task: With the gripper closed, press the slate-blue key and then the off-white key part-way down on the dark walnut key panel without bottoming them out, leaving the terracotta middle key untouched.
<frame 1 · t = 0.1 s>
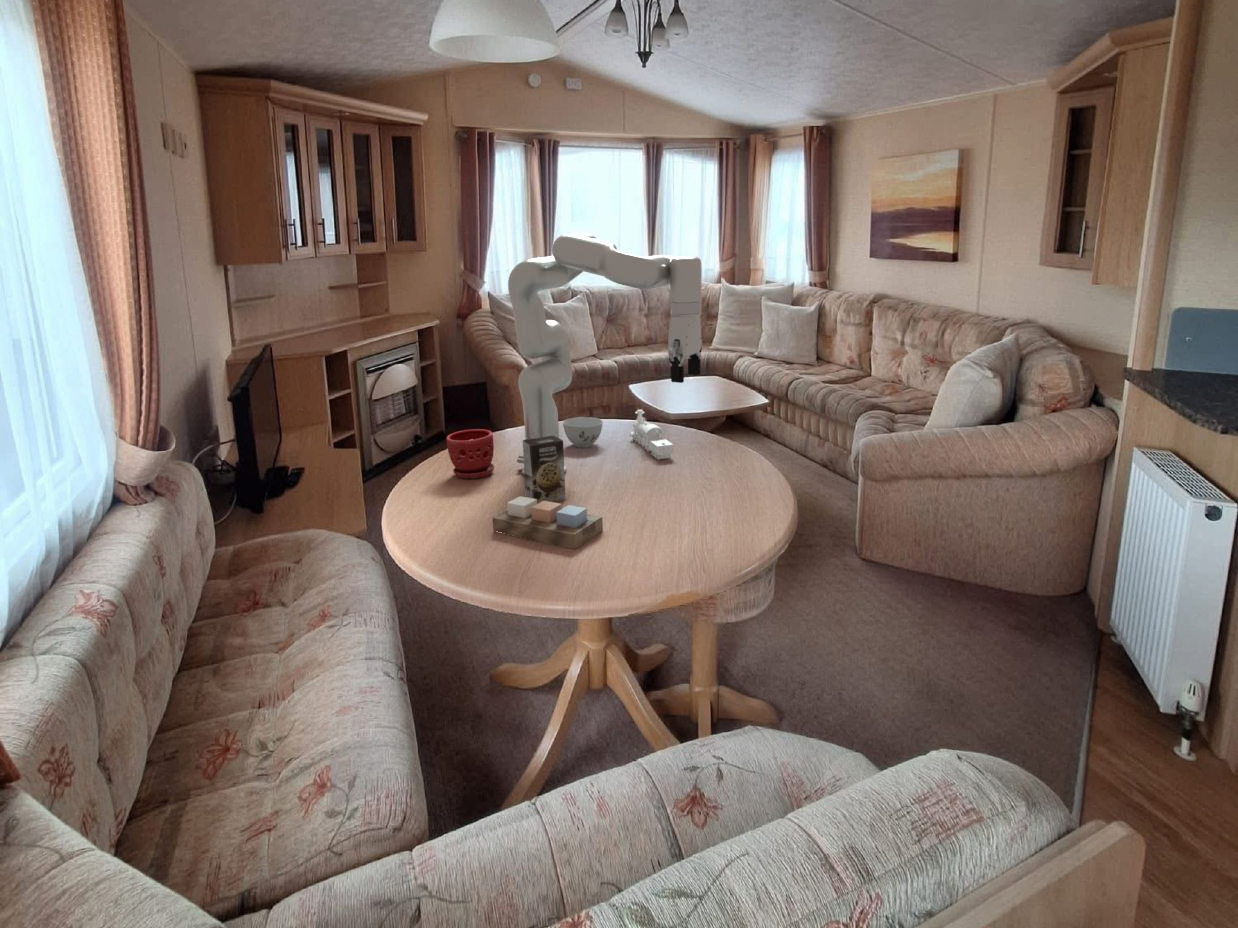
hand: (685, 378, 202), 31 cm above the table, tool pointing down, fingers open, 9 cm apart
toy train: (649, 448, 255), on the table
key panel: (547, 531, 192), on the table
coffee box: (546, 499, 213), on the table
plant pot: (473, 474, 234), on the table
teacup: (583, 444, 260), on the table
key terracotta: (546, 512, 190), point 5 cm above the table, slide at 0.0 cm
key blue: (571, 517, 187), point 5 cm above the table, slide at 0.0 cm
key white: (522, 507, 193), point 5 cm above the table, slide at 0.0 cm
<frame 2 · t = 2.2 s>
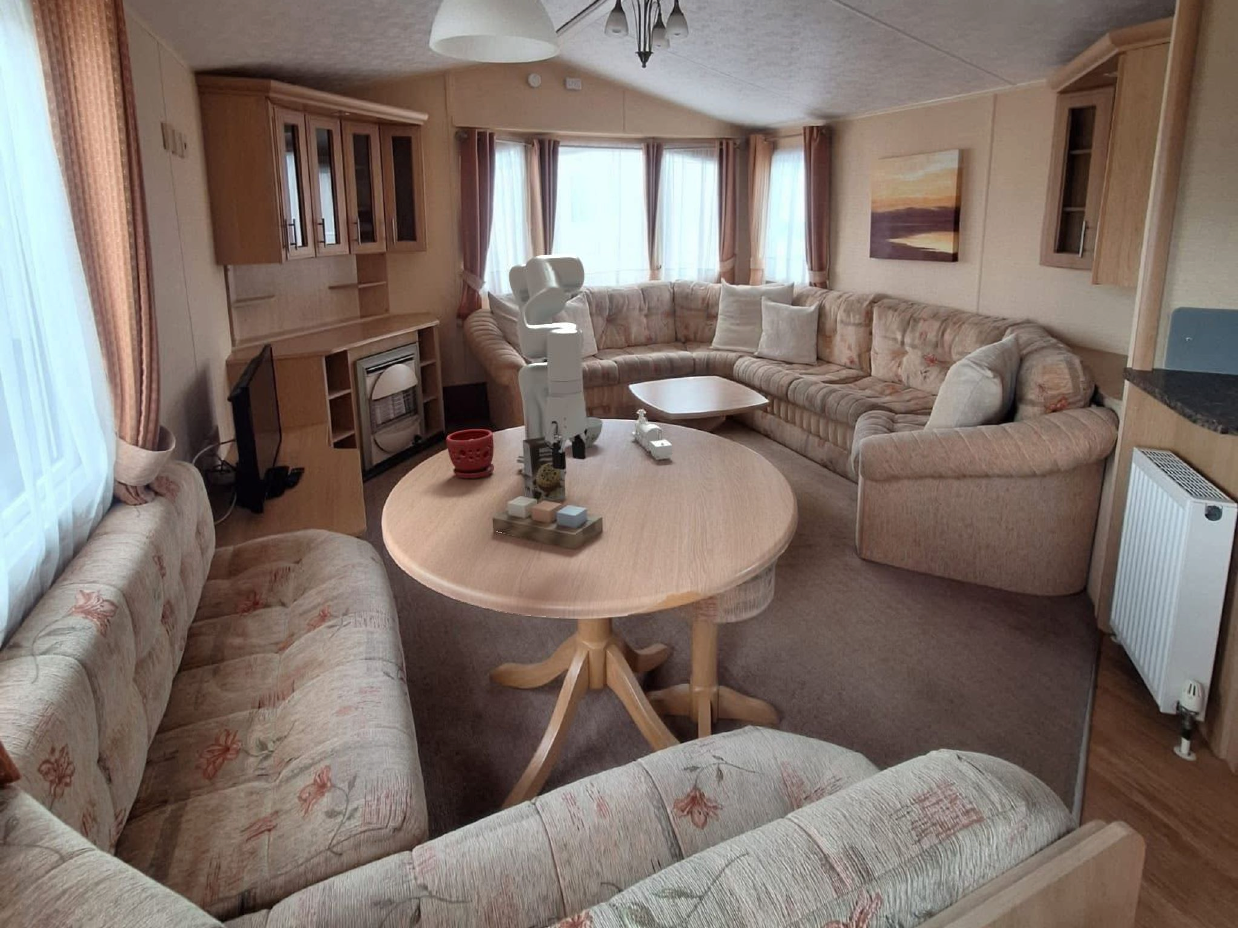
hand: (569, 463, 183), 18 cm above the table, tool pointing down, fingers open, 7 cm apart
nothing on the table moved.
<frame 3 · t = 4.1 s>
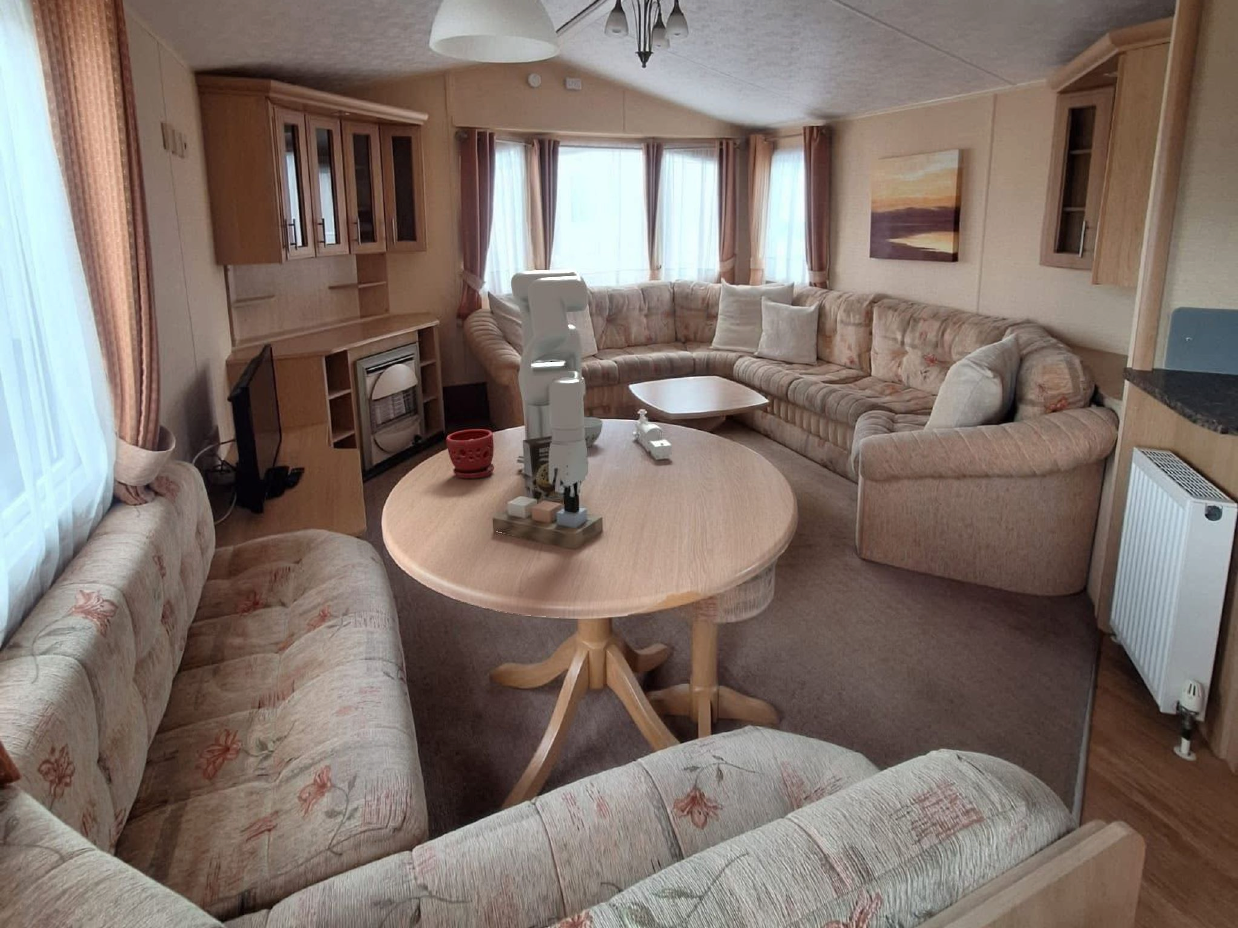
hand: (571, 510, 186), 6 cm above the table, tool pointing down, fingers closed
key blue: (571, 517, 187), point 5 cm above the table, slide at 0.1 cm, touching gripper
everything else where it was.
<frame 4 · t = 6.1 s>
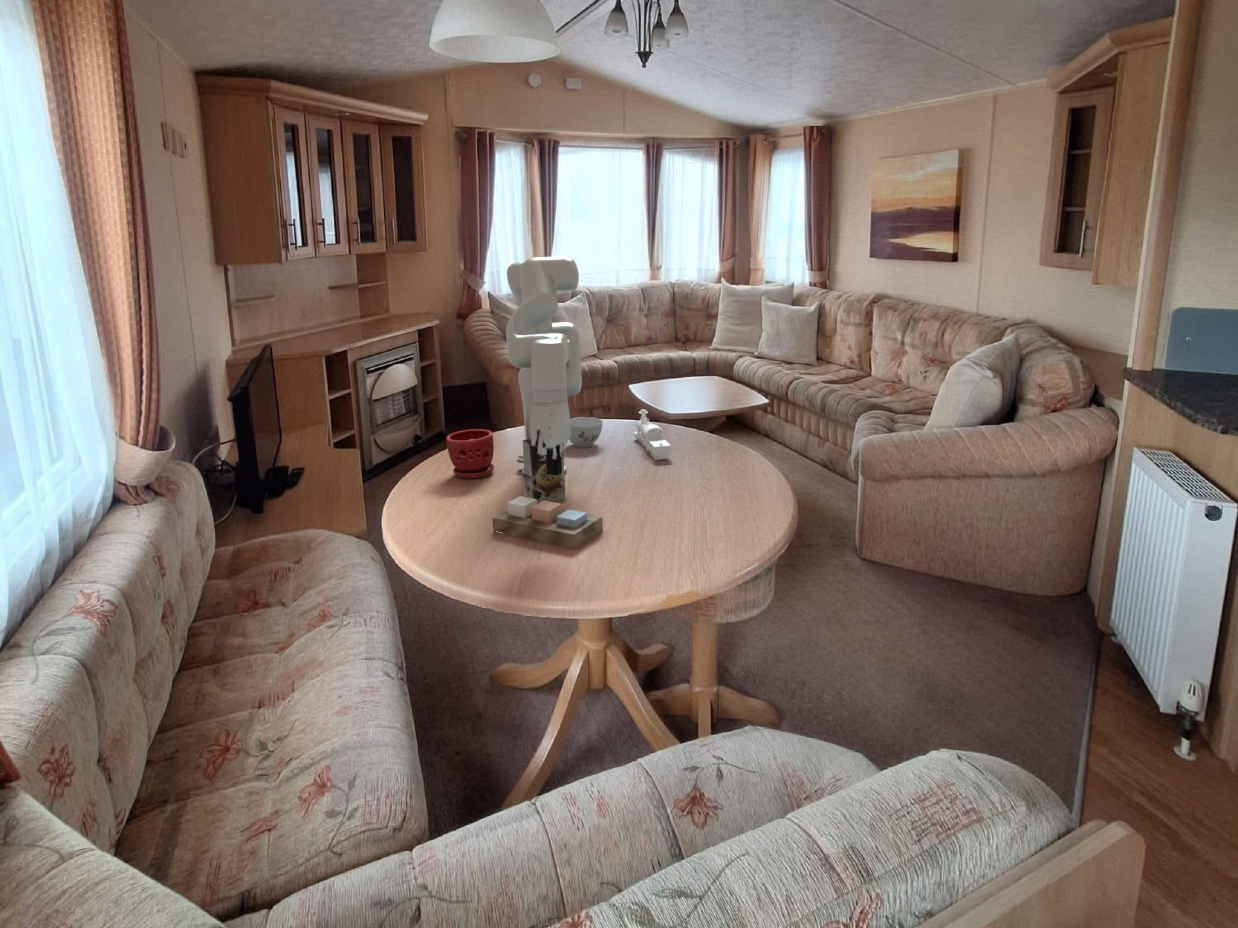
hand: (554, 473, 186), 15 cm above the table, tool pointing down, fingers closed
key blue: (572, 521, 187), point 4 cm above the table, slide at 1.1 cm
everything else where it was.
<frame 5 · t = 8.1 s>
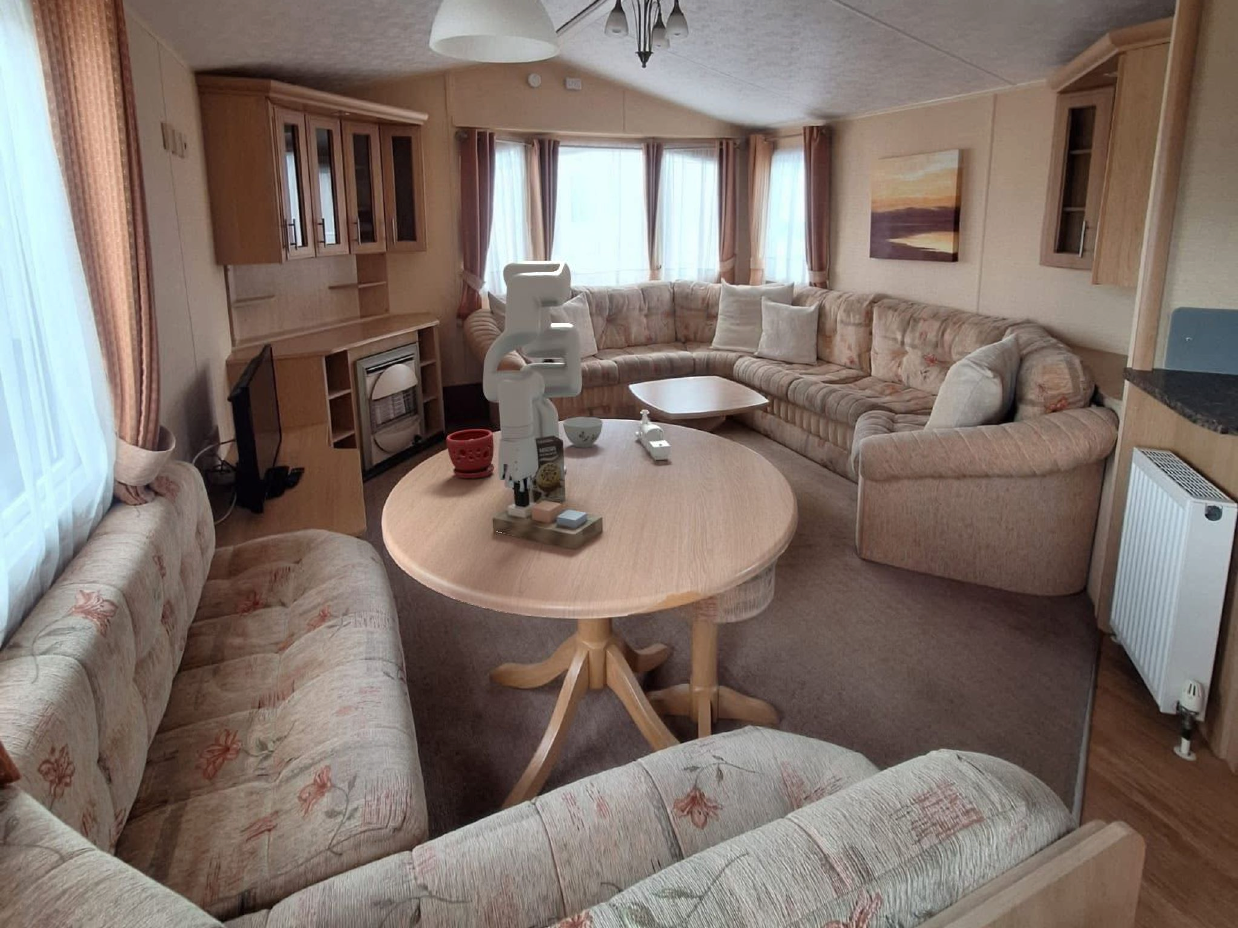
hand: (522, 505, 193), 6 cm above the table, tool pointing down, fingers closed
key white: (522, 511, 194), point 4 cm above the table, slide at 1.1 cm, touching gripper
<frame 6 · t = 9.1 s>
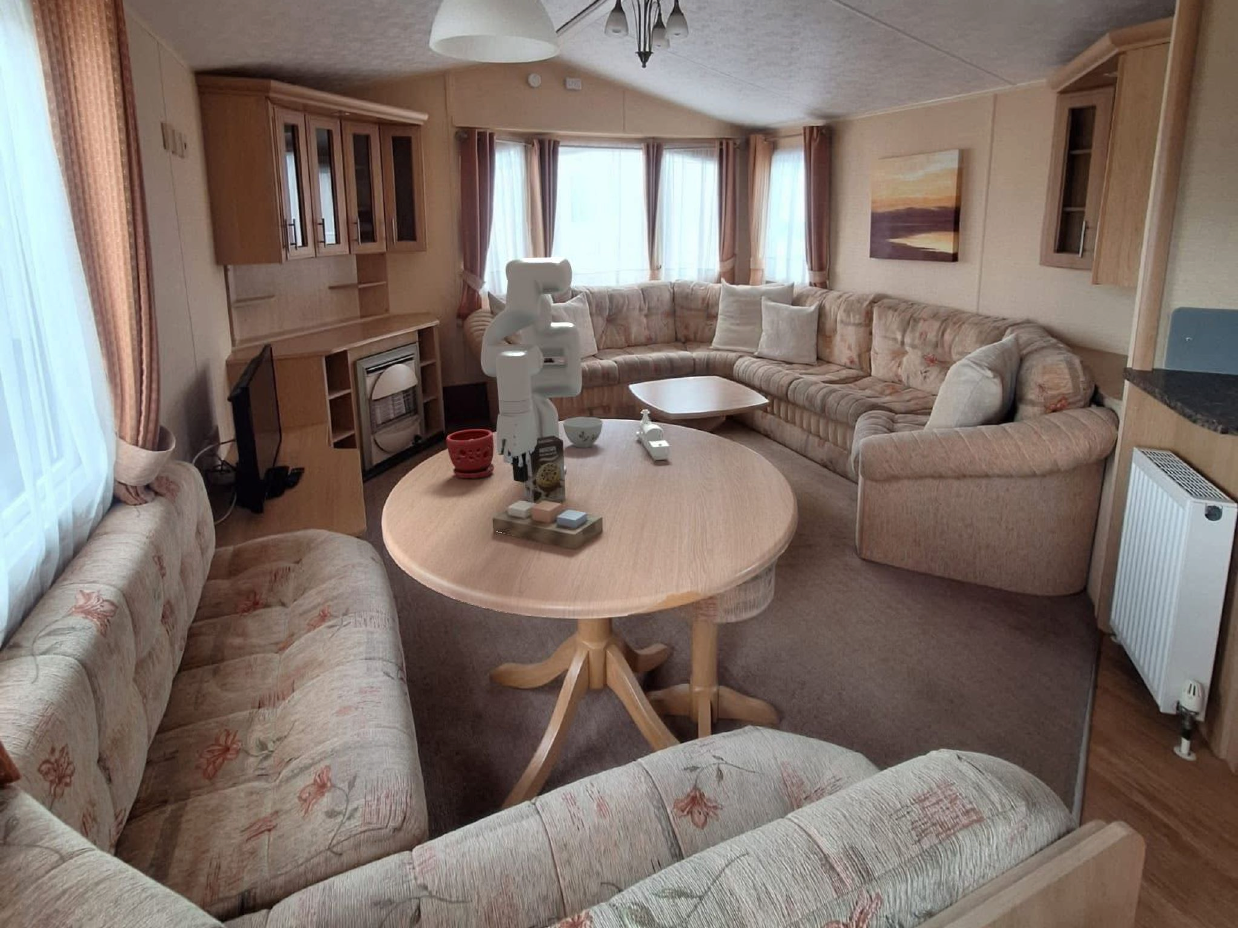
hand: (521, 480, 192), 11 cm above the table, tool pointing down, fingers closed
key white: (522, 512, 194), point 4 cm above the table, slide at 1.1 cm
everything else where it was.
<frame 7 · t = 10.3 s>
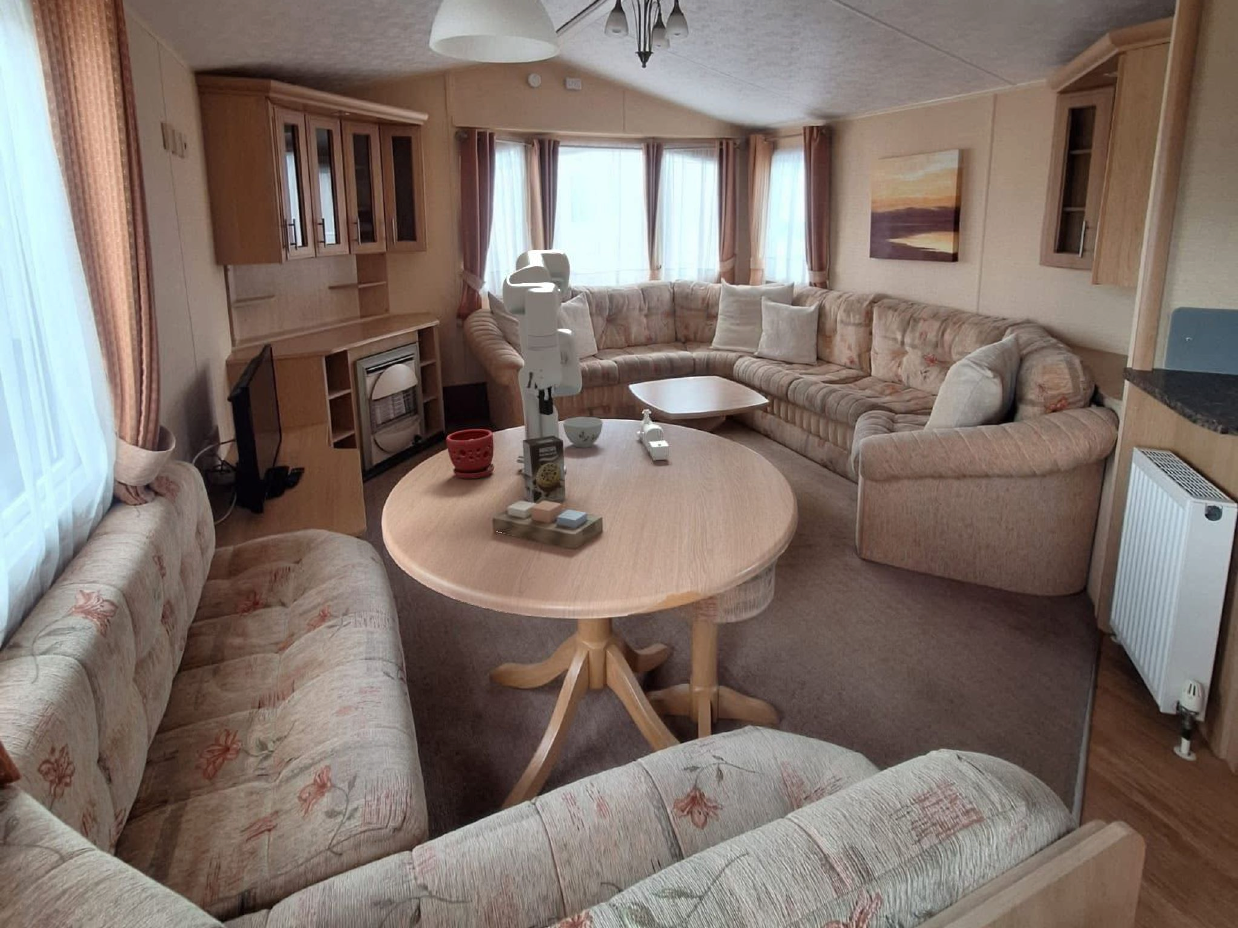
hand: (546, 413, 202), 24 cm above the table, tool pointing down, fingers closed
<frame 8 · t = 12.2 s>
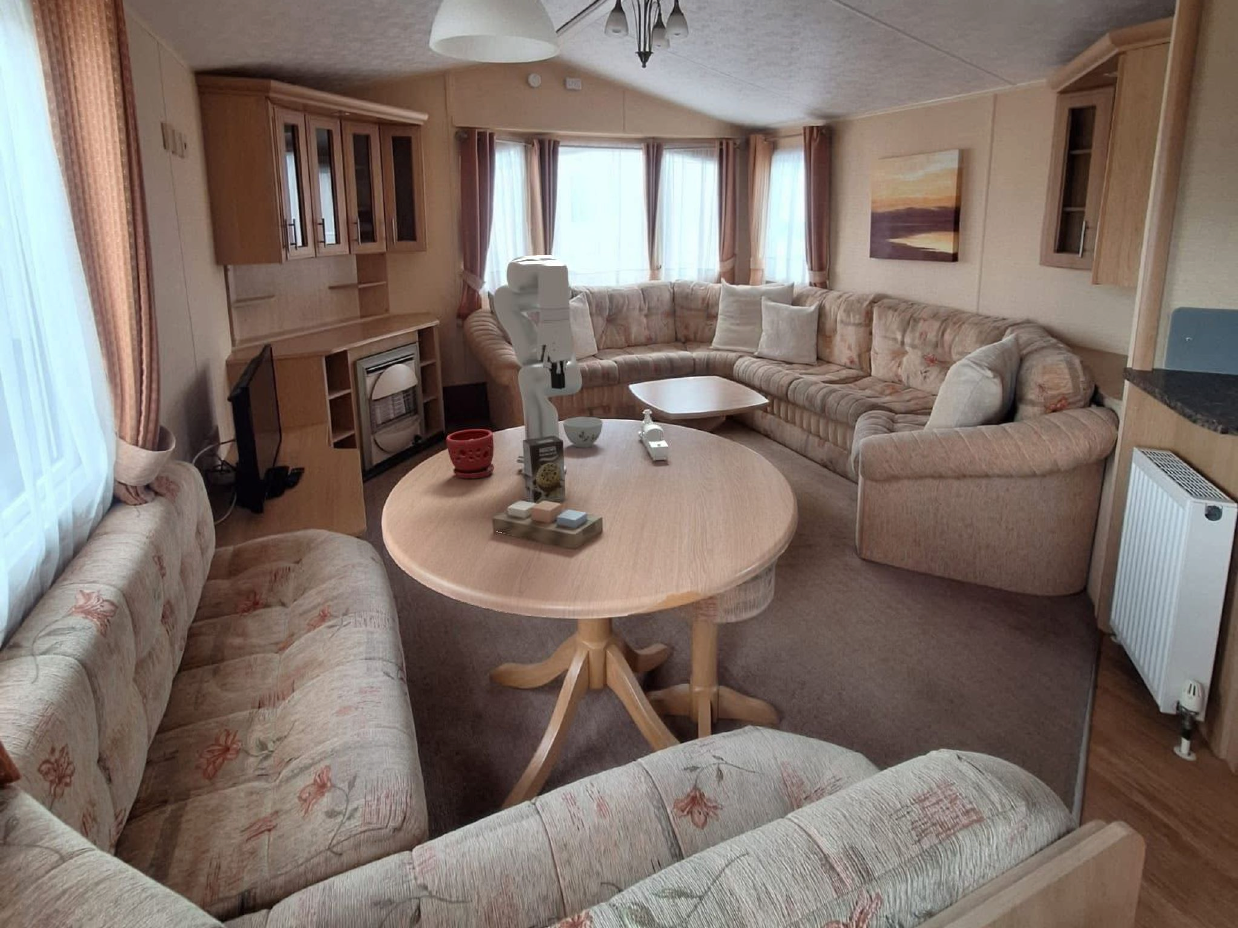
hand: (558, 387, 205), 29 cm above the table, tool pointing down, fingers closed
at the end: key blue slide at 1.1 cm; key white slide at 1.1 cm; key terracotta slide at 0.0 cm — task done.
